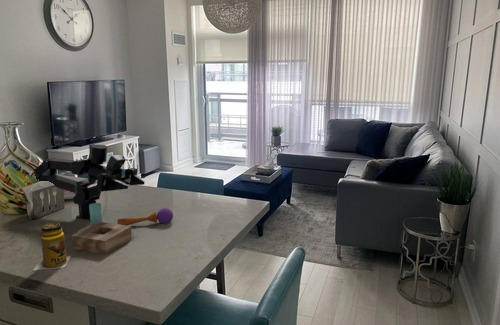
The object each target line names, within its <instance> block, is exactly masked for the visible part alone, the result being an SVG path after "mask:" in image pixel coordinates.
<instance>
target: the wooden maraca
mask: <svg viewBox="0 0 500 325" xmlns="http://www.w3.org/2000/svg"><path fill="white" fill-rule="evenodd" d="M173 218H174V214H173V211H172V210H171V209H170V208H167V207H163V208H161V209H159V210H158V211H157V212H156V211H154V212H152V213H151V214H150V215H148V216H147V217H129V218H127V217H125V218H117V219H116V220H117V224H119V225H126V226H131V225H134V224H138V223H142V222H145V221H148V222H152V223H155V224H156V223H160V224H164V225H166V224H169V223H171V221H172V220H173Z"/></svg>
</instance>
